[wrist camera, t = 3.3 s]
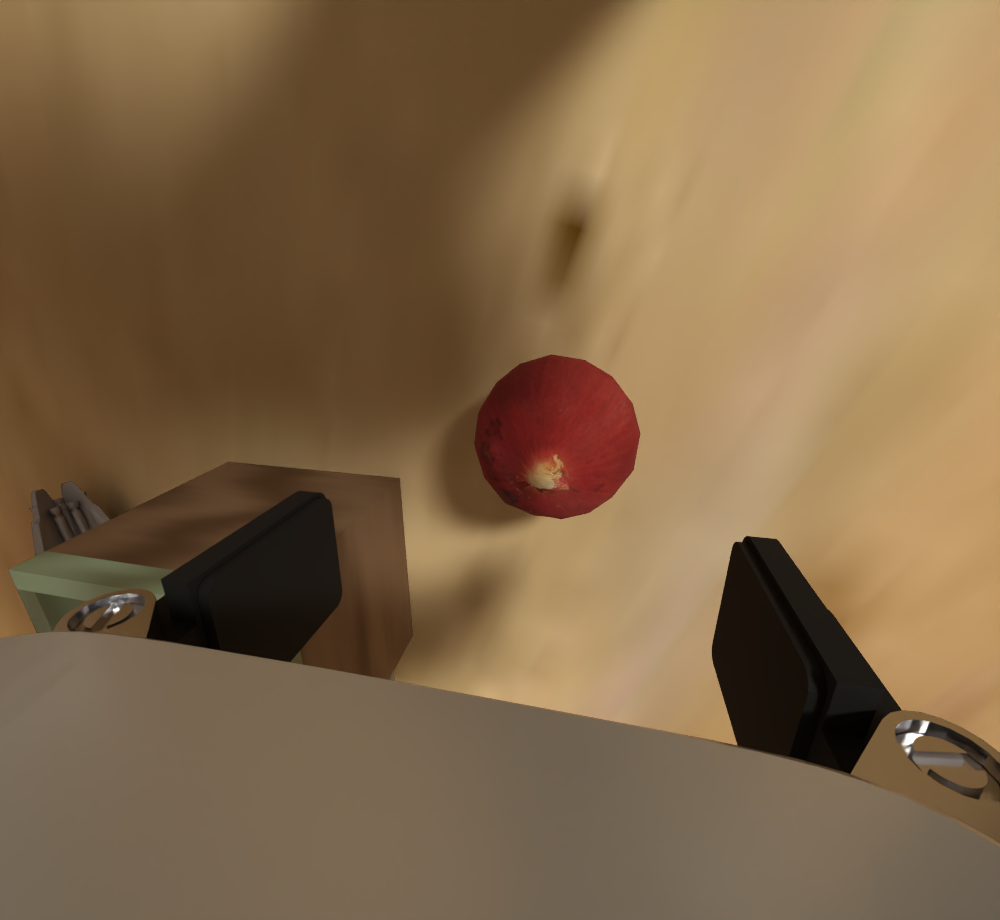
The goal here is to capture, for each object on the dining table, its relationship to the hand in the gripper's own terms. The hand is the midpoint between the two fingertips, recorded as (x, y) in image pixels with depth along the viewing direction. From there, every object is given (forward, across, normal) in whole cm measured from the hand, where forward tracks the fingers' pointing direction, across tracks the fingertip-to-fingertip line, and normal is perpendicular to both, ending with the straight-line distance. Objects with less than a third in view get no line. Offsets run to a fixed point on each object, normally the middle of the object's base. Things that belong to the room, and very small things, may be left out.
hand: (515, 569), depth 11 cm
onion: (+11, 0, -1) cm, 11 cm away
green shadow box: (+11, +13, +8) cm, 19 cm away
